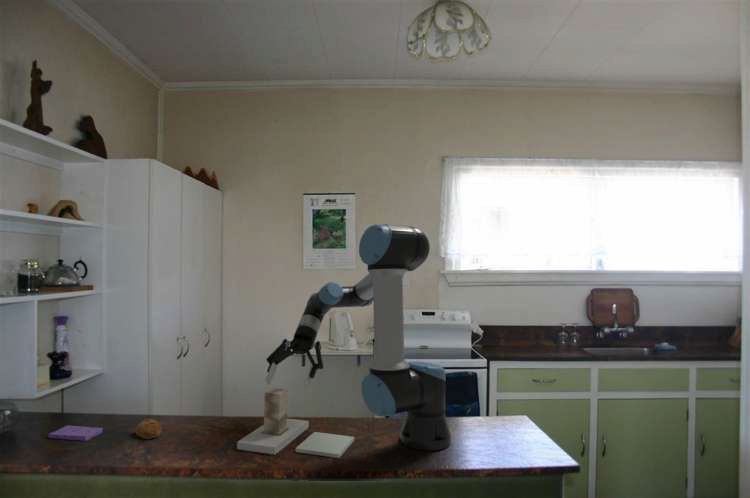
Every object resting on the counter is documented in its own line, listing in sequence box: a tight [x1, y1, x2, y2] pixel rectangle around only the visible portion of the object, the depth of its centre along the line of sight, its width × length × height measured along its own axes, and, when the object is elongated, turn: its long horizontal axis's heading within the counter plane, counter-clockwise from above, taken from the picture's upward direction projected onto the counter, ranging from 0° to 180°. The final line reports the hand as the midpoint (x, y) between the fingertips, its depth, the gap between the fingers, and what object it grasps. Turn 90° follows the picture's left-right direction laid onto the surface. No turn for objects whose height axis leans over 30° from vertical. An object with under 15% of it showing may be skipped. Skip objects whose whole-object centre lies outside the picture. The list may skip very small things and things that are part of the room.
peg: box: [263, 387, 288, 436], centre depth 135 cm, size 5×5×14 cm
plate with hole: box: [236, 417, 310, 456], centre depth 135 cm, size 12×22×2 cm, turn 164°
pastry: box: [135, 418, 162, 440], centre depth 136 cm, size 9×7×4 cm
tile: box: [295, 431, 355, 459], centre depth 129 cm, size 13×13×1 cm
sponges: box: [48, 425, 104, 442], centre depth 135 cm, size 7×13×2 cm, turn 82°
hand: (286, 384), depth 143 cm, fingers open, 13 cm apart
